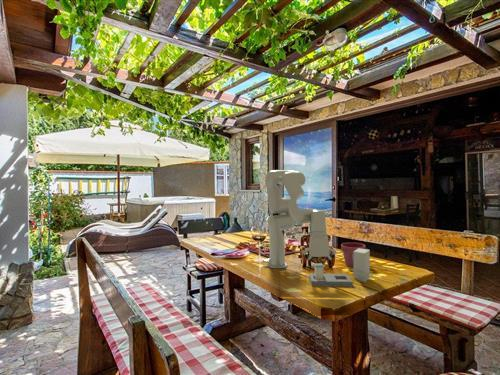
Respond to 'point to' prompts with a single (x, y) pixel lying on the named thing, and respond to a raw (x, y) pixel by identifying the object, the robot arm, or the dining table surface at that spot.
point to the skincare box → (361, 264)
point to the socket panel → (331, 280)
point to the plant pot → (350, 251)
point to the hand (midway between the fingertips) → (319, 267)
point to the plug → (319, 271)
